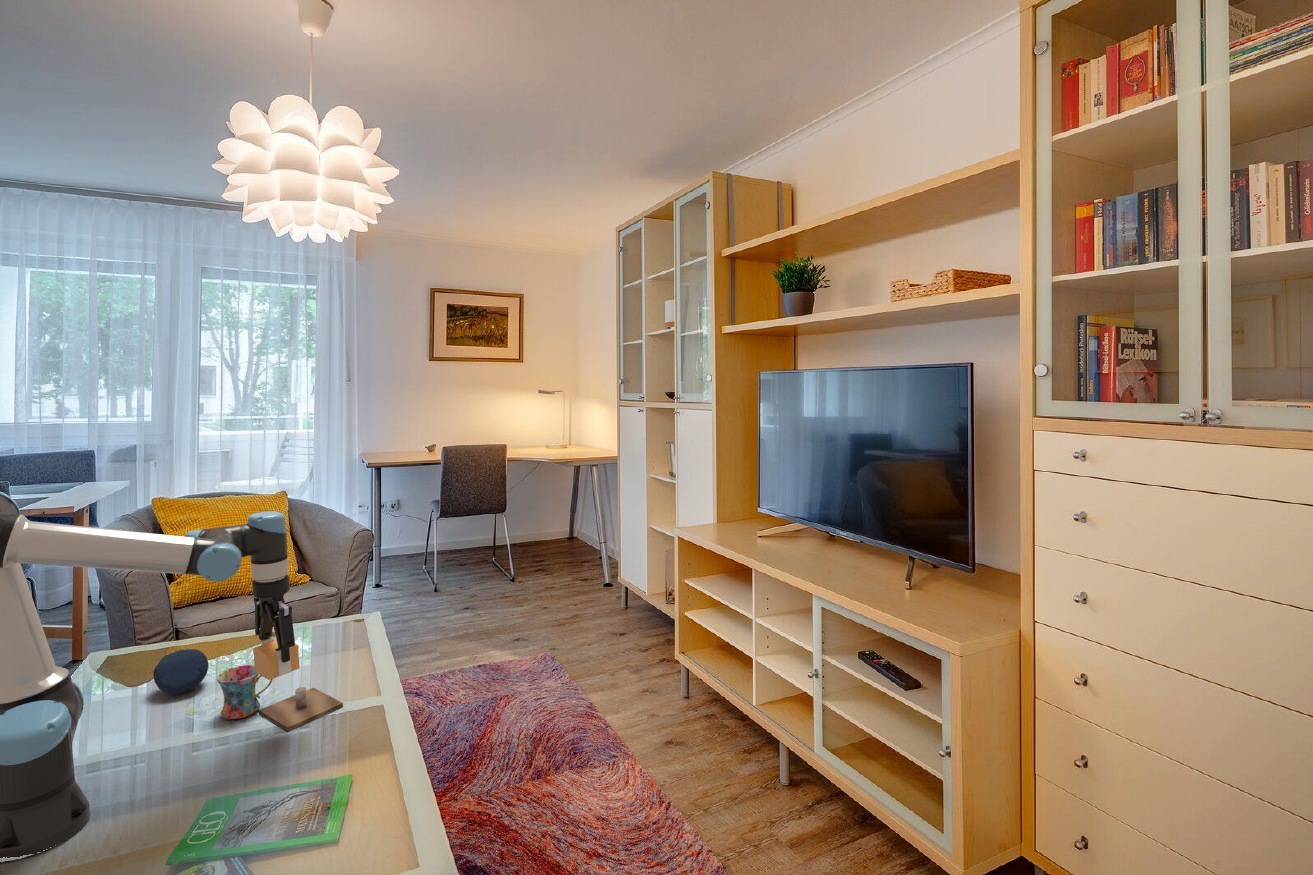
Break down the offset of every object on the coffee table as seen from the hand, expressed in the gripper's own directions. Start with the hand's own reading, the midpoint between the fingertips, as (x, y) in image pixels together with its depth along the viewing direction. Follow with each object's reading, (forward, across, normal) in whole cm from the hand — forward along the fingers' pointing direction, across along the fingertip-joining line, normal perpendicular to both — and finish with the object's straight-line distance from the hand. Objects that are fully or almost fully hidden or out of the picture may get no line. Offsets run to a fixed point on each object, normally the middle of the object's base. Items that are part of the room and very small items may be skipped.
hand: (276, 668), depth 154 cm
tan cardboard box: (0, 0, 0) cm, 0 cm away
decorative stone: (+16, +40, +6) cm, 44 cm away
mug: (+16, +15, +1) cm, 22 cm away
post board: (+16, +5, -8) cm, 18 cm away
